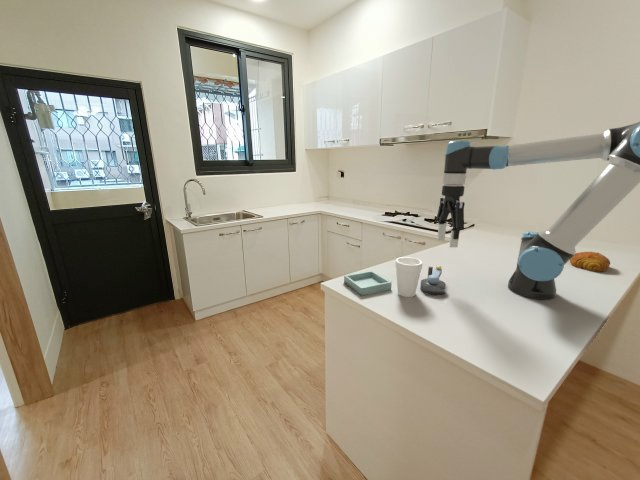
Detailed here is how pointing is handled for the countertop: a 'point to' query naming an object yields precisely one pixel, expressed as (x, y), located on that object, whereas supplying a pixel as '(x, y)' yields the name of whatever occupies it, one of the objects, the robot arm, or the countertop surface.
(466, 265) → the countertop surface
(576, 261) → the croissant
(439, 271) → the crank
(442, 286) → the crank base
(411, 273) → the foam cup
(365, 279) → the tray
